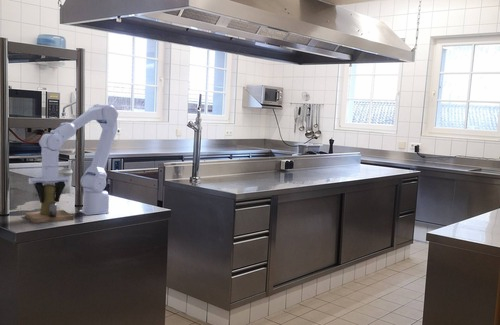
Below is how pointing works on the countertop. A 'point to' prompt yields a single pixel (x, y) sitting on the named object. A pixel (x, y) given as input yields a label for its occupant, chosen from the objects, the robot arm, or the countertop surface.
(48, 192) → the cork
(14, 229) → the countertop surface
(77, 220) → the countertop surface
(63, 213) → the board
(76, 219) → the countertop surface
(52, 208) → the steel dowel
